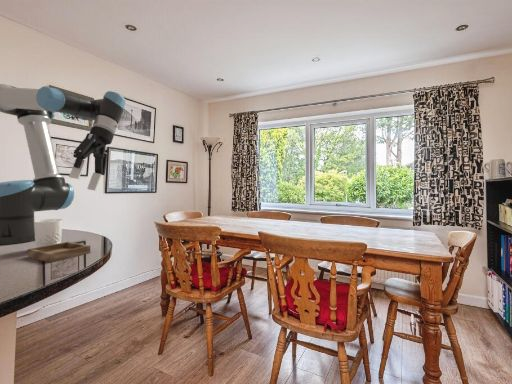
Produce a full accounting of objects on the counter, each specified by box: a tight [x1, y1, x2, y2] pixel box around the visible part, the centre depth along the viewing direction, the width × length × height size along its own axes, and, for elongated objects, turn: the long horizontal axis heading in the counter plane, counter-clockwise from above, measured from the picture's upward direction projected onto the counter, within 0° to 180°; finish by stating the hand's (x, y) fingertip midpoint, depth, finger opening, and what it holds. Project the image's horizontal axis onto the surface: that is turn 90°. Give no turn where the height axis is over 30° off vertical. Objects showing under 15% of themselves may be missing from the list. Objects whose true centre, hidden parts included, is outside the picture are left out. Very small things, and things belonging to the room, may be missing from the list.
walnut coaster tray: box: [27, 241, 91, 264], centre depth 87 cm, size 12×12×2 cm
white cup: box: [34, 218, 63, 248], centre depth 94 cm, size 8×8×10 cm
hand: (83, 184), depth 94 cm, fingers open, 13 cm apart
